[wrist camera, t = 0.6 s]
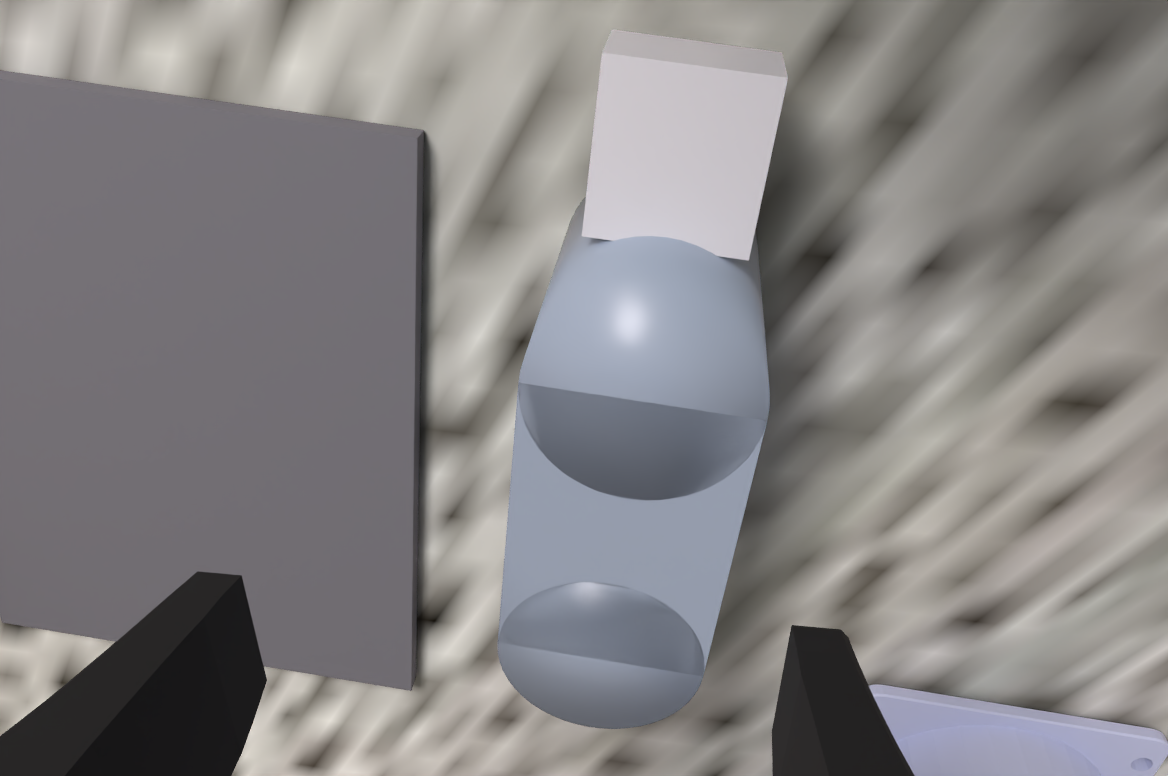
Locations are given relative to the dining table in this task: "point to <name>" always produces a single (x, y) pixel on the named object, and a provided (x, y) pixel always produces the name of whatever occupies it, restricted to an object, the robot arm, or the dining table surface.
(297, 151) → the mat
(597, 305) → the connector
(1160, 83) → the dining table surface
